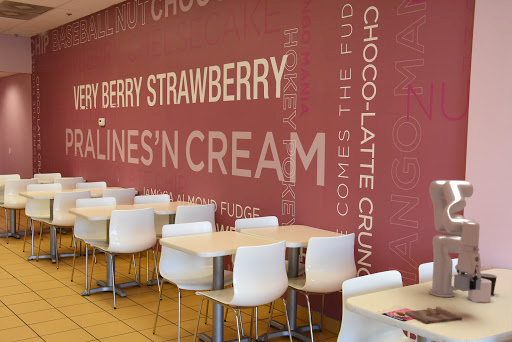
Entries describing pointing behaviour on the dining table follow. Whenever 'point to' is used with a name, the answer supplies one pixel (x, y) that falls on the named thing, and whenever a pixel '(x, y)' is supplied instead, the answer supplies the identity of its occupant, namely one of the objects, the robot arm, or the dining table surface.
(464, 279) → the block
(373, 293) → the dining table surface
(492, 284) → the coffee mug
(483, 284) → the toilet tissue
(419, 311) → the housing base
